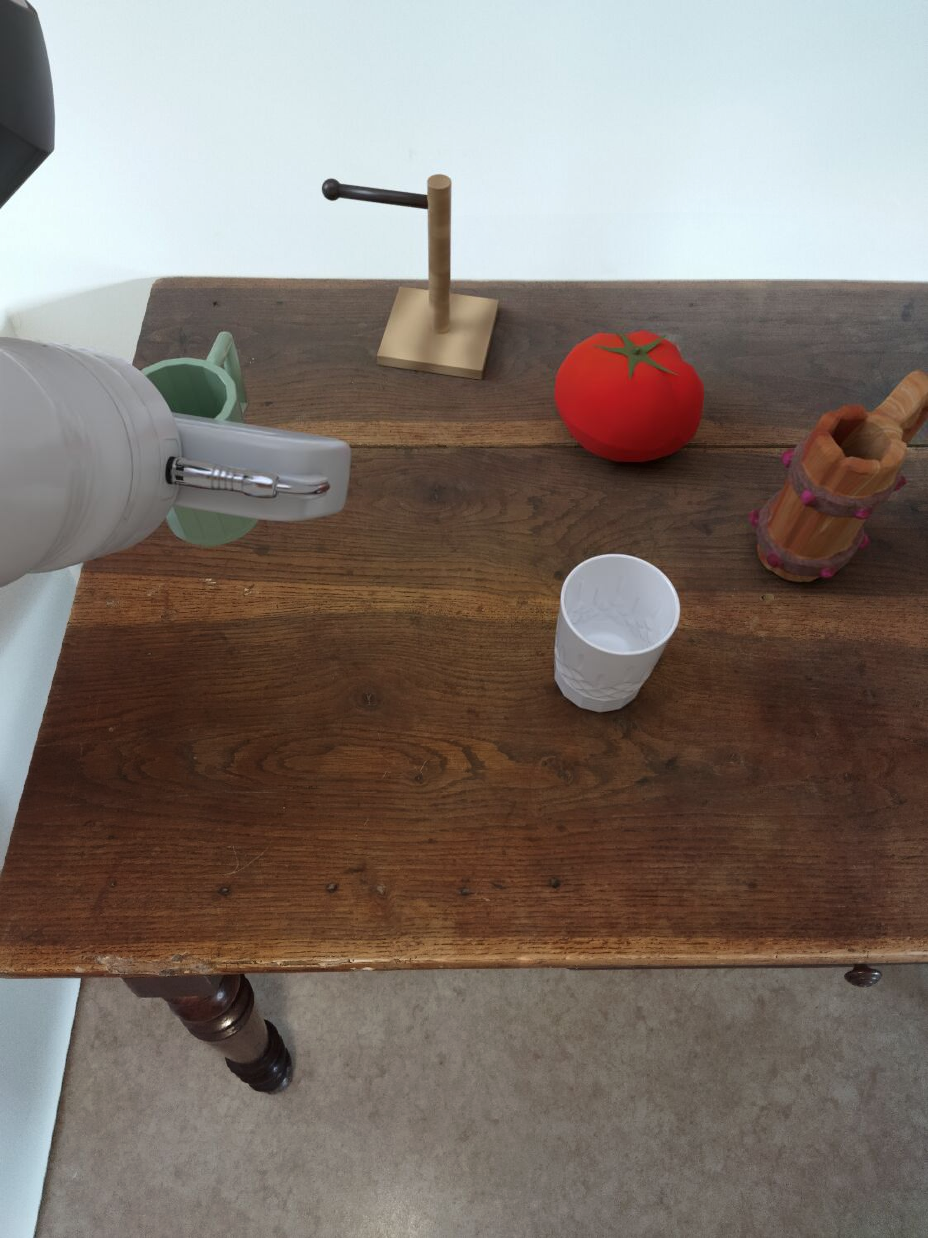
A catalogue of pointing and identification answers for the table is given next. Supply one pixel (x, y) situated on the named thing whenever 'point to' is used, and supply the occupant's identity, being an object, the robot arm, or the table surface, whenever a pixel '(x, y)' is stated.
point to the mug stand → (430, 294)
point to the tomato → (629, 396)
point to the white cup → (612, 629)
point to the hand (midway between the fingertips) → (198, 443)
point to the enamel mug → (208, 396)
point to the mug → (838, 484)
